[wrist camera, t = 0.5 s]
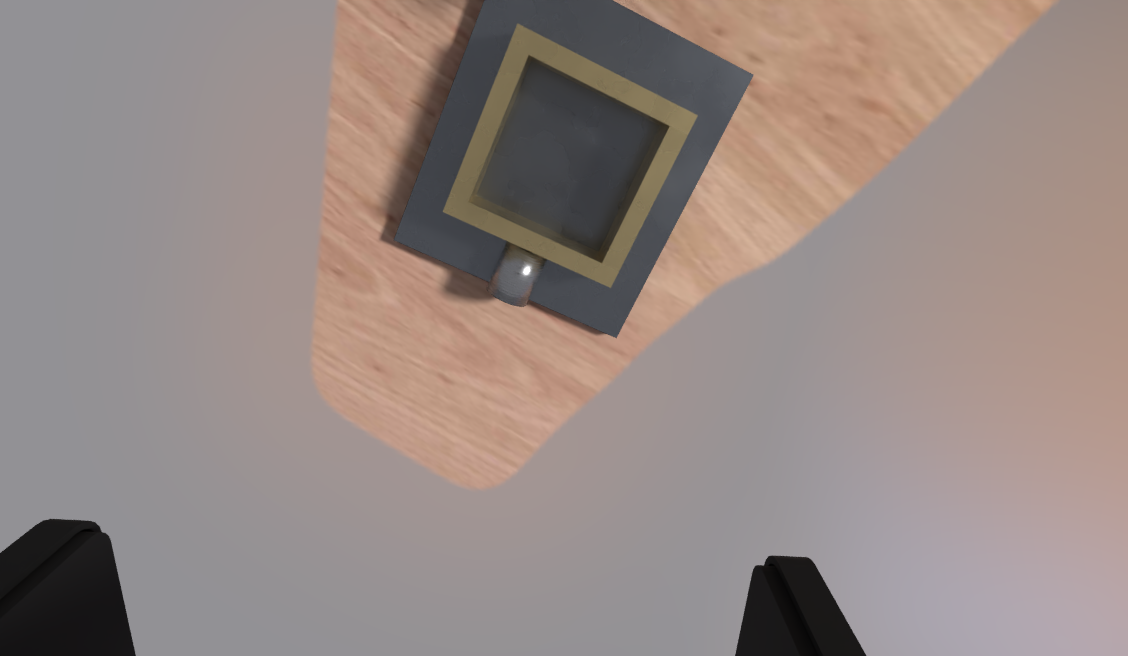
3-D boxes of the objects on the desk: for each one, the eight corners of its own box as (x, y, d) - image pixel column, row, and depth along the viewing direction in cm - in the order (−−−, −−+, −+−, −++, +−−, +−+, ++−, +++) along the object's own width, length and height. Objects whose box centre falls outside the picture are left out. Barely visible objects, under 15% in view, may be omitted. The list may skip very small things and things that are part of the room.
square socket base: (507, -51, 31) (499, -75, 27) (748, 76, 33) (772, 70, 29) (398, 236, 35) (378, 251, 32) (614, 332, 37) (621, 356, 34)
